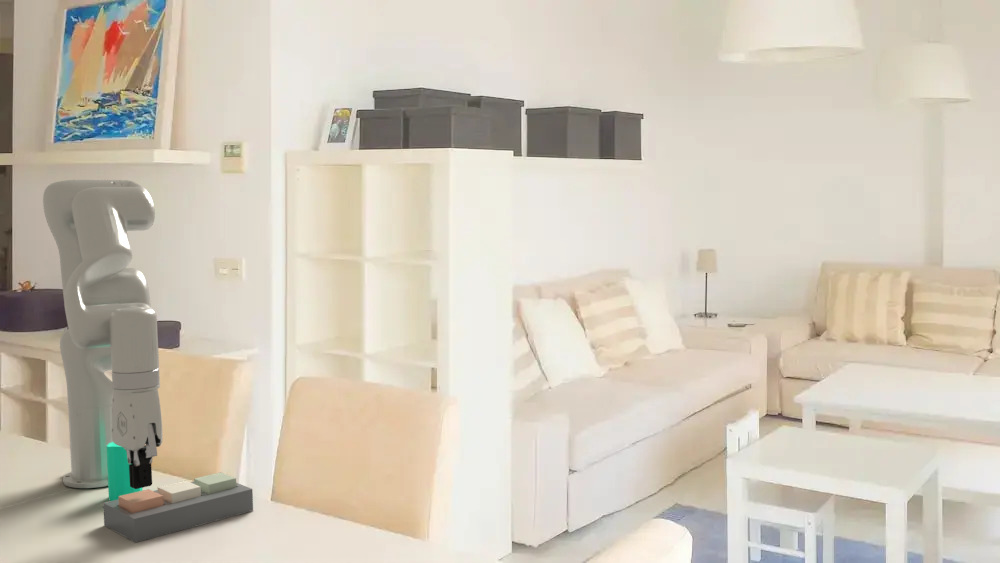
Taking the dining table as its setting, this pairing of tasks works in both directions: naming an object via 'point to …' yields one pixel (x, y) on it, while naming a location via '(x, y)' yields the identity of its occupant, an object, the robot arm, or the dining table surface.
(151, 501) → the key terracotta
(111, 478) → the candle
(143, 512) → the keypad
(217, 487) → the key sage
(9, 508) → the dining table surface
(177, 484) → the key cream
